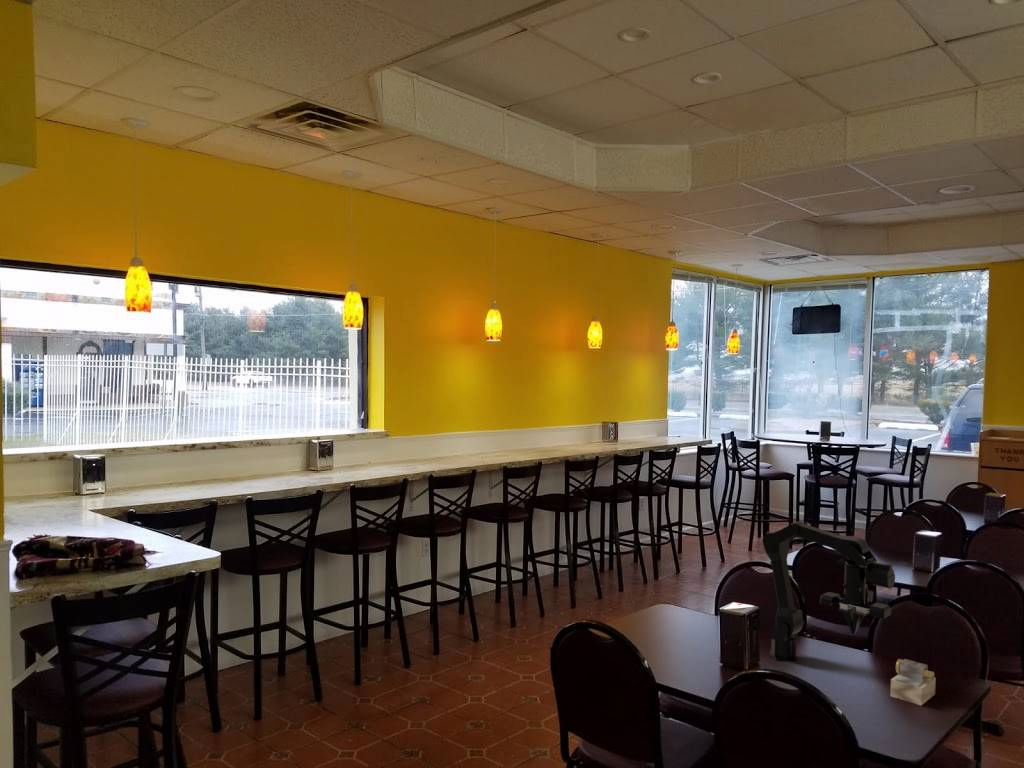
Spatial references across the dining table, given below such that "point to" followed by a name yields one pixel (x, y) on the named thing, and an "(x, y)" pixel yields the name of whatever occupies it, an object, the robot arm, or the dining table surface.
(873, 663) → the dining table surface
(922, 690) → the hinge block
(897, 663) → the pin
